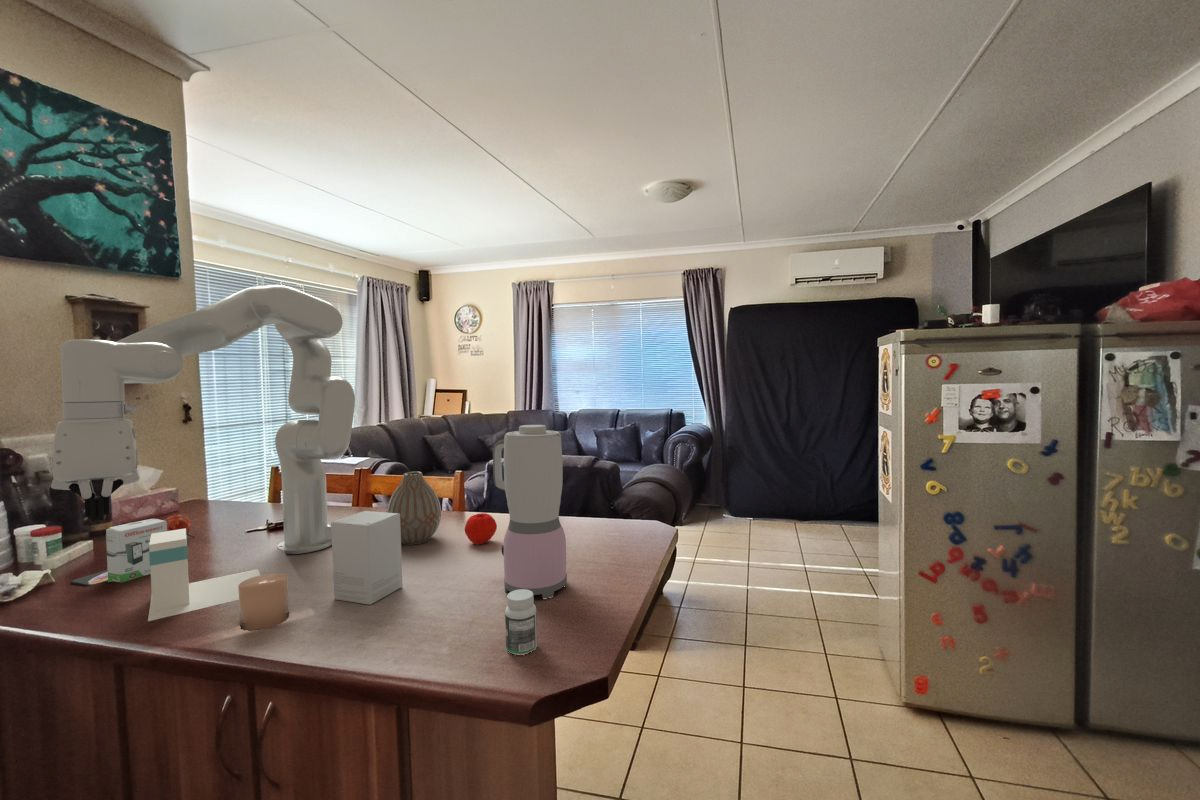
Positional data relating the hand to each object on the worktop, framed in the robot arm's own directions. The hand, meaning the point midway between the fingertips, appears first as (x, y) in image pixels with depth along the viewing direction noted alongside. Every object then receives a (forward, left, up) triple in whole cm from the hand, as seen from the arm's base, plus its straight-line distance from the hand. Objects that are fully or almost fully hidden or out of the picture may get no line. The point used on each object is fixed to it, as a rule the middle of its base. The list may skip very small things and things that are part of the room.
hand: (98, 519), depth 87 cm
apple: (-68, +5, -18) cm, 71 cm away
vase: (-56, -8, -18) cm, 60 cm away
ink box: (-3, -22, -18) cm, 29 cm away
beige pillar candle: (-21, +18, -18) cm, 33 cm away
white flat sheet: (-14, 0, -18) cm, 23 cm away
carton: (-9, 0, -17) cm, 19 cm away
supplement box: (-38, +18, -18) cm, 46 cm away
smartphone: (0, -30, -19) cm, 36 cm away
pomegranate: (-9, -49, -18) cm, 53 cm away
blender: (-63, +36, -18) cm, 75 cm away
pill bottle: (-50, +55, -18) cm, 77 cm away
